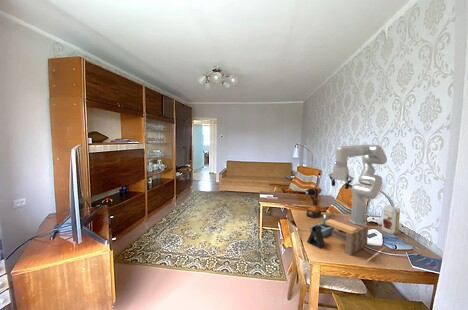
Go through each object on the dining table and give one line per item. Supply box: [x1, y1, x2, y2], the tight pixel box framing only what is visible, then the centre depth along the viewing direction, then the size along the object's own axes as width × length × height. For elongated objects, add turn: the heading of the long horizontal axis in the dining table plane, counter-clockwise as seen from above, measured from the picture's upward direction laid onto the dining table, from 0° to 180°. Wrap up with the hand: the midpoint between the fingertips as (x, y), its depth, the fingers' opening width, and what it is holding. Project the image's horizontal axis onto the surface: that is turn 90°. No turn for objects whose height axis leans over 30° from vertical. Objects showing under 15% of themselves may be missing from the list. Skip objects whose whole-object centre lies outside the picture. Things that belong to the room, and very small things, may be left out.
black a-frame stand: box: [306, 224, 326, 249], centre depth 125 cm, size 9×6×12 cm, turn 37°
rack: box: [309, 221, 336, 238], centre depth 139 cm, size 16×9×5 cm, turn 125°
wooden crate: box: [331, 224, 369, 256], centre depth 125 cm, size 23×18×13 cm
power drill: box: [304, 186, 322, 219], centre depth 171 cm, size 22×7×25 cm, turn 129°
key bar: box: [325, 218, 357, 234], centre depth 119 cm, size 6×16×2 cm, turn 35°
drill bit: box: [322, 213, 330, 228], centre depth 141 cm, size 4×4×12 cm
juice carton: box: [381, 204, 401, 235], centre depth 143 cm, size 8×9×19 cm
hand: (339, 187), depth 143 cm, fingers open, 9 cm apart
